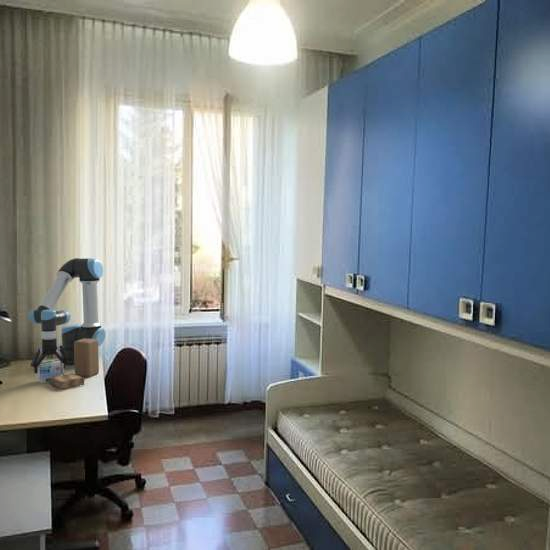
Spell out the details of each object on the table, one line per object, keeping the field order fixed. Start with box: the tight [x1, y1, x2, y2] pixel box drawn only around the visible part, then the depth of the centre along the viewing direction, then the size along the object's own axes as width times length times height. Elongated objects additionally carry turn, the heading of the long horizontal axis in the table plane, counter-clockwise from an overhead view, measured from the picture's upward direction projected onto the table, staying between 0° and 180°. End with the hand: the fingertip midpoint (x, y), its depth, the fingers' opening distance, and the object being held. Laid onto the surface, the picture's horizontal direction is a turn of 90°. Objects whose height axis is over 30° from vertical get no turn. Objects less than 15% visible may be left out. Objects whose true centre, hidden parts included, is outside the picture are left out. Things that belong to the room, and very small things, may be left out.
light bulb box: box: [39, 359, 62, 384], centre depth 309 cm, size 11×7×11 cm, turn 117°
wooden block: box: [73, 338, 100, 378], centre depth 322 cm, size 10×10×20 cm
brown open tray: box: [48, 372, 85, 391], centre depth 301 cm, size 13×13×4 cm
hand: (50, 376), depth 309 cm, fingers open, 13 cm apart
